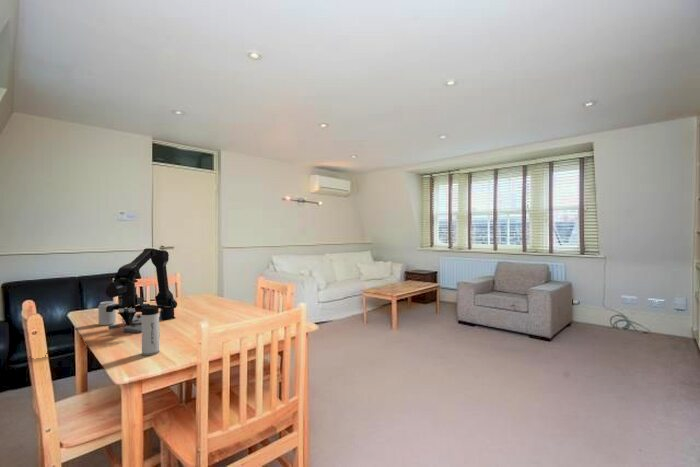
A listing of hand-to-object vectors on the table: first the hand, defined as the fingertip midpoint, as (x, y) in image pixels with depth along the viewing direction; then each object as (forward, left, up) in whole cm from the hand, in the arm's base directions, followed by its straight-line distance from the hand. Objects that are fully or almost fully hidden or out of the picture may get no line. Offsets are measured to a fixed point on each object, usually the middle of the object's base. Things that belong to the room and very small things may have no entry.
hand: (129, 325), depth 163 cm
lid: (-5, -7, 0) cm, 8 cm away
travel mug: (0, +31, -5) cm, 32 cm away
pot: (-5, -9, -5) cm, 12 cm away
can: (+2, -32, -5) cm, 32 cm away
